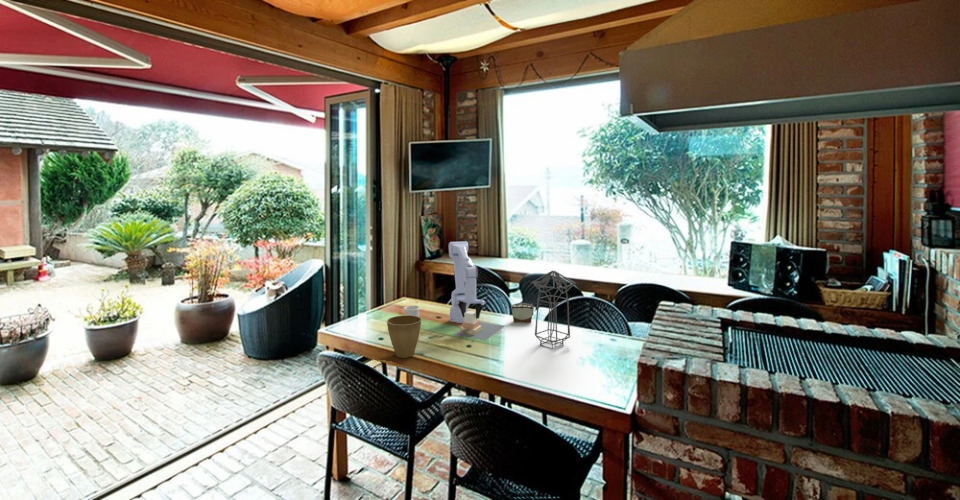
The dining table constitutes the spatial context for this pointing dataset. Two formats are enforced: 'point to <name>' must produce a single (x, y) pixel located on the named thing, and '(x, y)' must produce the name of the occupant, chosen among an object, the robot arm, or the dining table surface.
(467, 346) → the dining table surface
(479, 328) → the bottom slab
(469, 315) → the top block
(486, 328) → the mat
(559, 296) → the geometric lantern
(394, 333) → the plant pot
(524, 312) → the food container
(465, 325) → the middle block
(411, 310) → the dixie cup
